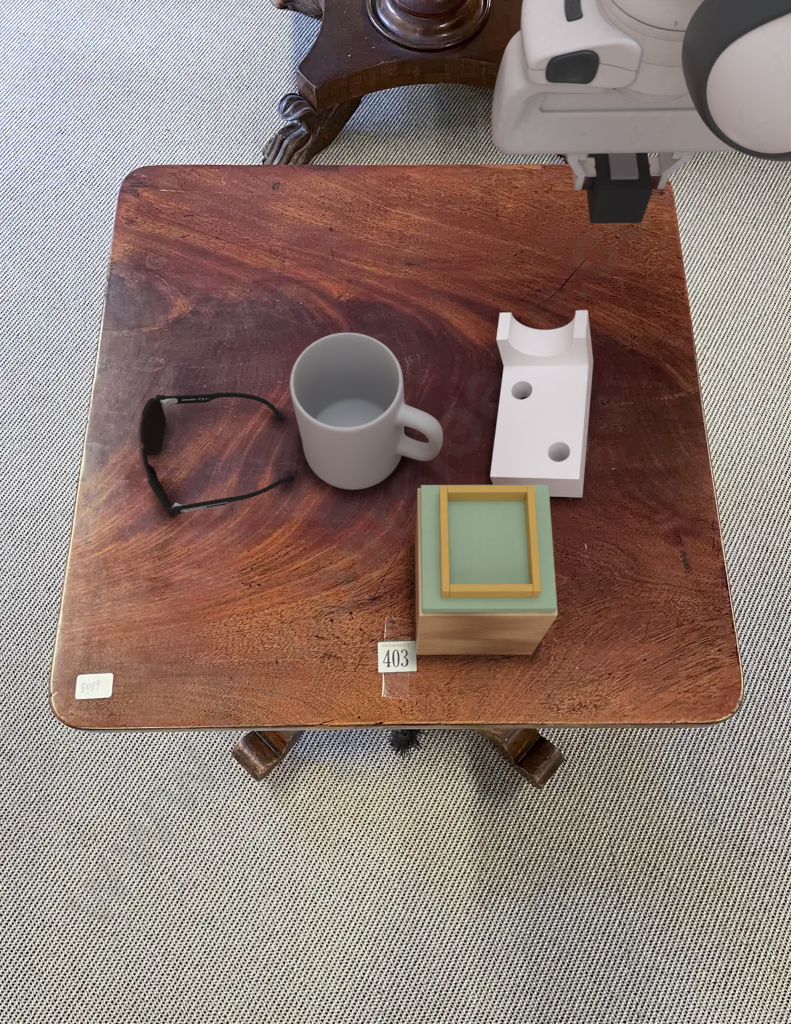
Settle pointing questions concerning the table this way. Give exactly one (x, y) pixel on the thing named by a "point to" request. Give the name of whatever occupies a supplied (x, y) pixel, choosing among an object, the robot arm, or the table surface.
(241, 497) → the sunglasses
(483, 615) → the stand
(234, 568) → the table surface
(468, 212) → the table surface
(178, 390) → the table surface
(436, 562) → the base pad
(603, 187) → the black block
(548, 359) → the bracket
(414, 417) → the mug
